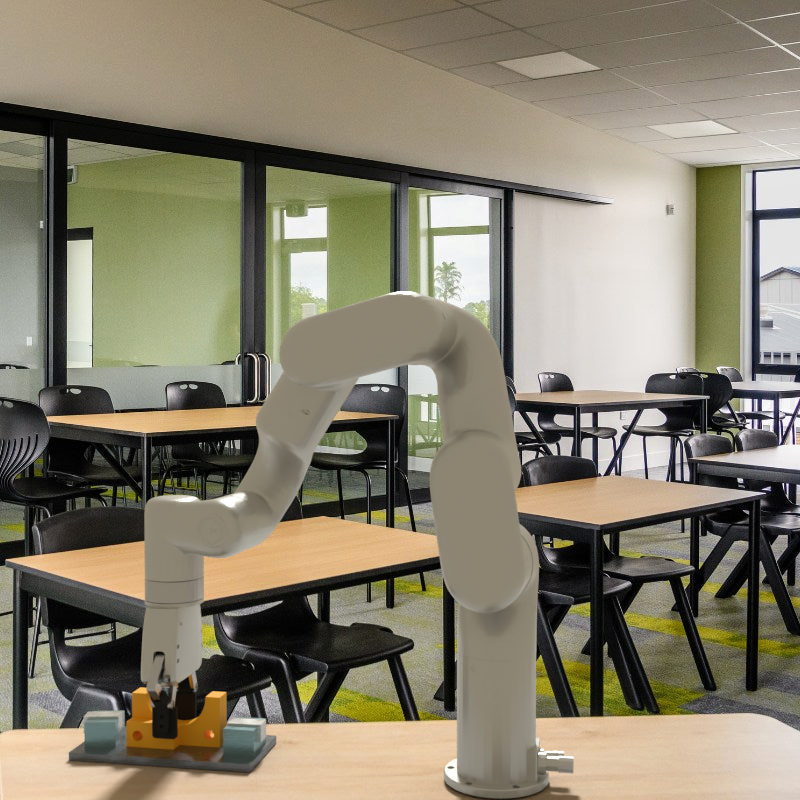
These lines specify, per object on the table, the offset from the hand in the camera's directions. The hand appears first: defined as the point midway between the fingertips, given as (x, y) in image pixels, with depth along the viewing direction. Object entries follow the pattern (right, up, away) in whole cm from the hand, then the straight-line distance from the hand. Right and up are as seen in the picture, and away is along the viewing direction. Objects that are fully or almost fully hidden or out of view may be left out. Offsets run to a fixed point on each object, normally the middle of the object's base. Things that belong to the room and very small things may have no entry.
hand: (174, 728), depth 140 cm
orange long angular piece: (0, -2, 0) cm, 2 cm away
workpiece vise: (0, -3, 0) cm, 3 cm away
